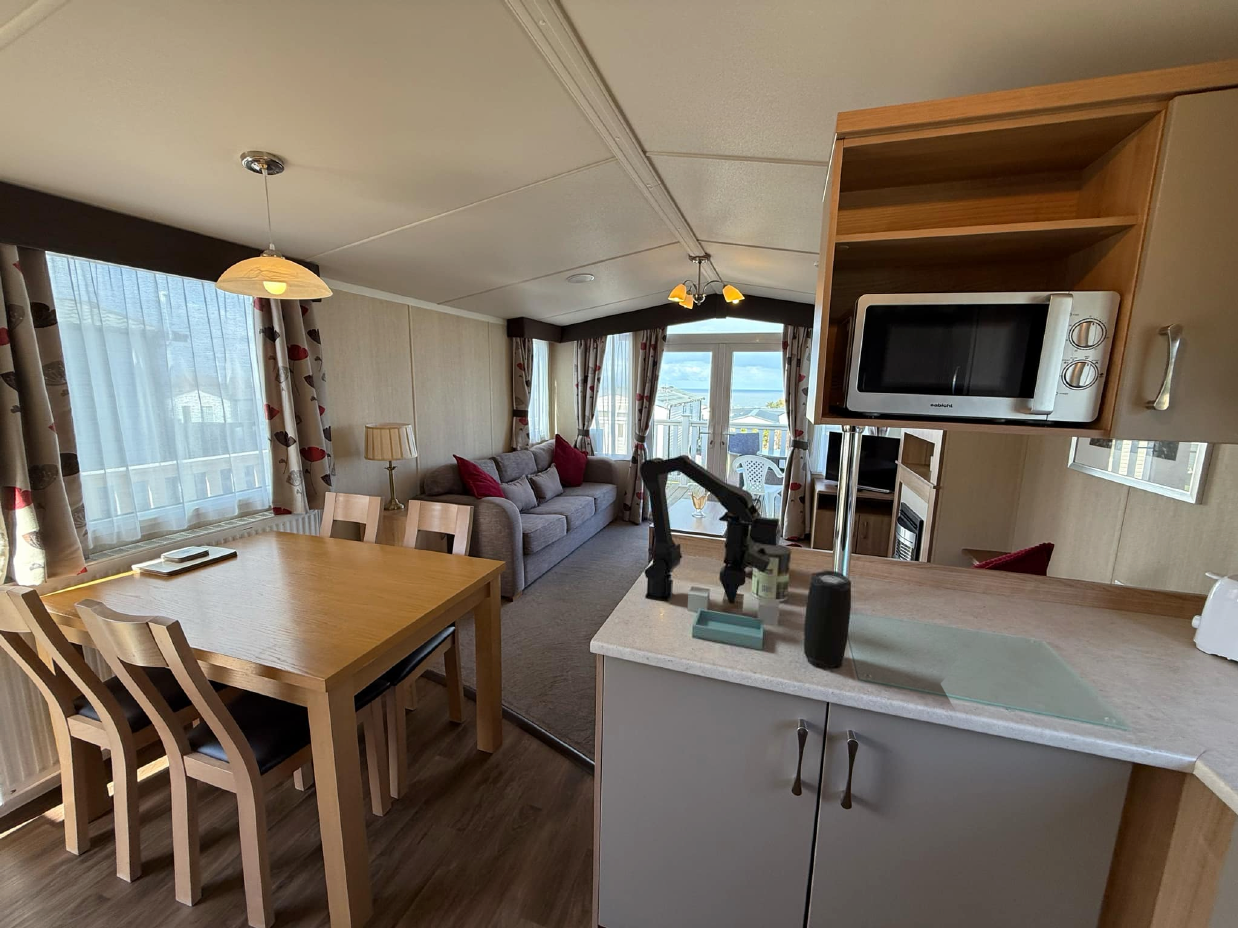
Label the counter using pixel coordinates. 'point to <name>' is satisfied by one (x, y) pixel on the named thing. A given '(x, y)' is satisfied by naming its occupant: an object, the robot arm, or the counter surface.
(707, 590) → the grey block left
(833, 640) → the portable speaker
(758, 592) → the coffee can
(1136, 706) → the counter surface
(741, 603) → the walnut block
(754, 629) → the tray
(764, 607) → the grey block right
